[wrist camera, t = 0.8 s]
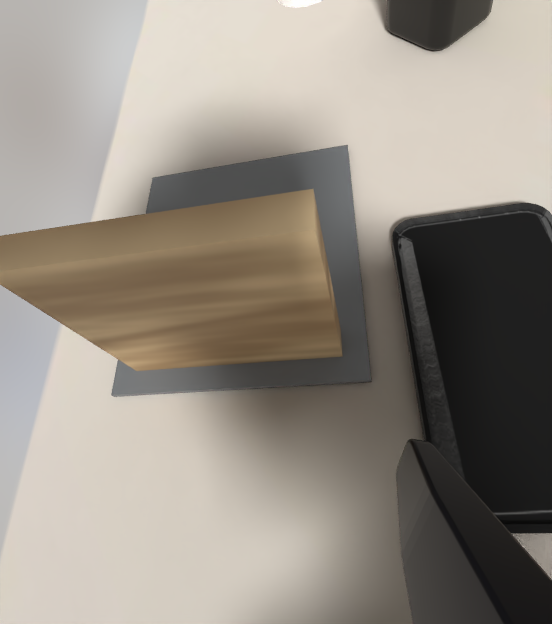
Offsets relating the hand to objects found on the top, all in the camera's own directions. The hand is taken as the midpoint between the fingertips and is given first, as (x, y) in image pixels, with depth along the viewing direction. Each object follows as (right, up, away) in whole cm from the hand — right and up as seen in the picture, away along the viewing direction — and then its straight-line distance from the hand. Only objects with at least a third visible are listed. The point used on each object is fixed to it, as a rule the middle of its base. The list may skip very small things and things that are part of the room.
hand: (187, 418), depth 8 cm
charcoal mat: (0, +5, +16) cm, 17 cm away
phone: (+12, 0, +11) cm, 17 cm away
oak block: (0, 0, +13) cm, 13 cm away
